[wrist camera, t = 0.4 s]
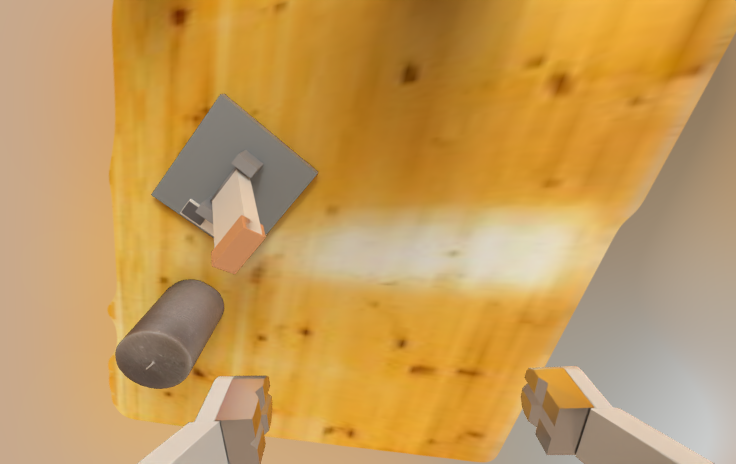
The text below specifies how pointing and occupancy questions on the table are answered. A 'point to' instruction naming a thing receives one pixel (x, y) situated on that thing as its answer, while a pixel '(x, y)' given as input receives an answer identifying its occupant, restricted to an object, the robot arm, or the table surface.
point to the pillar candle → (170, 335)
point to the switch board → (221, 155)
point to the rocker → (235, 223)
